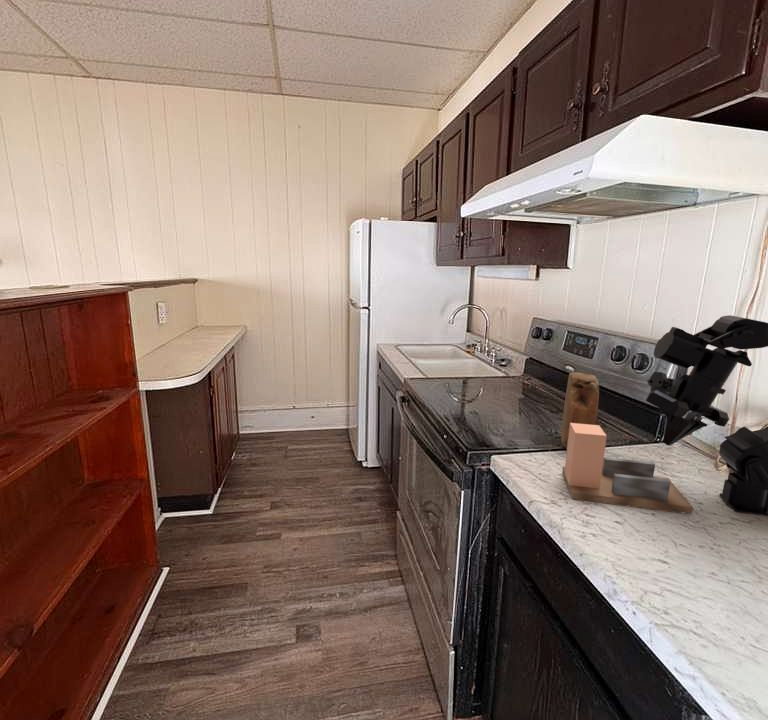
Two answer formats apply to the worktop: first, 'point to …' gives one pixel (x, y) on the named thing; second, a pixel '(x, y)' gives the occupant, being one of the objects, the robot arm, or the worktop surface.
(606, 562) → the worktop surface
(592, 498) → the chute
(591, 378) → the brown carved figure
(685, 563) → the worktop surface
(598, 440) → the block
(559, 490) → the worktop surface
